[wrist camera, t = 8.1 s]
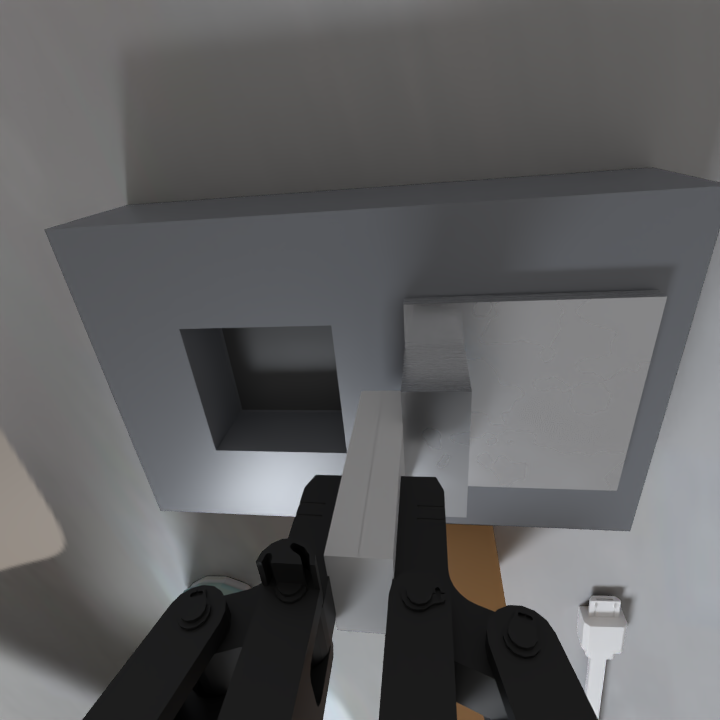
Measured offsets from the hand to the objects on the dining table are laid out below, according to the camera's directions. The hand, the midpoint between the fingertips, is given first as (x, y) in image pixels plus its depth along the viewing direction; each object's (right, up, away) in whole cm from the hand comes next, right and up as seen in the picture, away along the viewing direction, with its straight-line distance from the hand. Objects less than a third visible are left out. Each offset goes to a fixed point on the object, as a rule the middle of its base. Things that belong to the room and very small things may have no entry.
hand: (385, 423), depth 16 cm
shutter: (+5, +1, +1) cm, 5 cm away
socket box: (0, +3, +6) cm, 7 cm away
